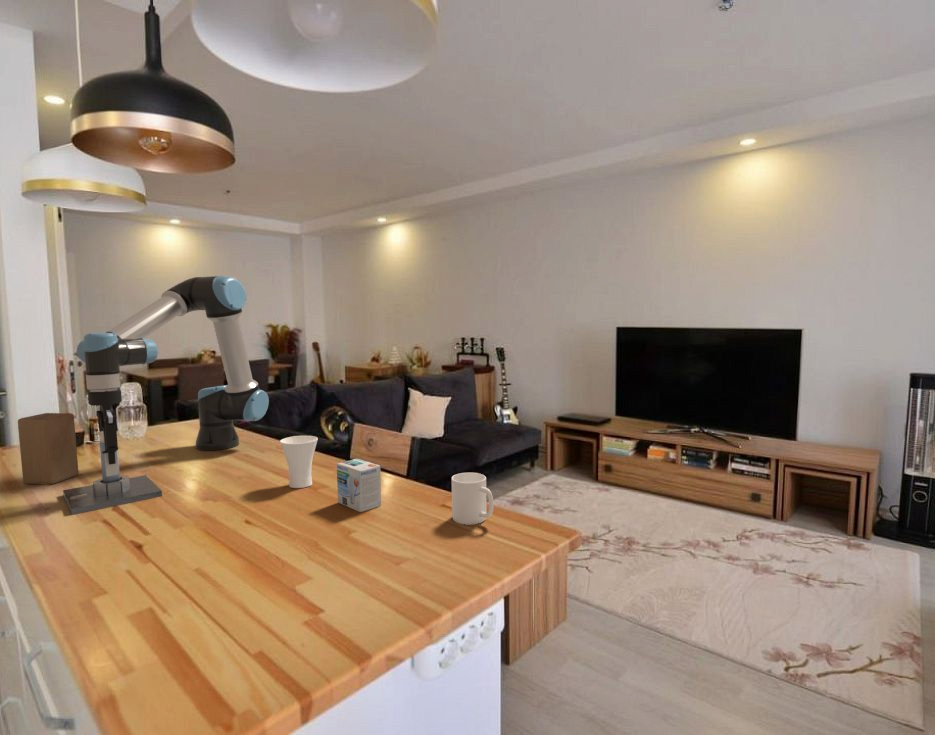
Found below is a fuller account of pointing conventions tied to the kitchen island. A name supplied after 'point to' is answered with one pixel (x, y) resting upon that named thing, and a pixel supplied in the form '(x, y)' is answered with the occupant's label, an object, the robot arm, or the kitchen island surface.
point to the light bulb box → (359, 484)
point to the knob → (102, 448)
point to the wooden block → (48, 448)
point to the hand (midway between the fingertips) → (110, 473)
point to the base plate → (110, 493)
